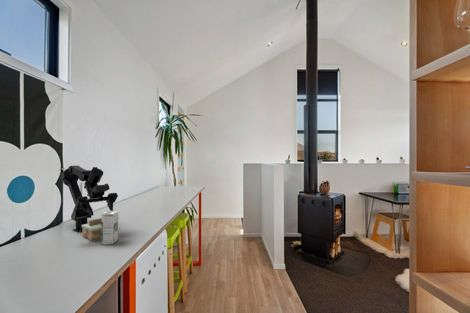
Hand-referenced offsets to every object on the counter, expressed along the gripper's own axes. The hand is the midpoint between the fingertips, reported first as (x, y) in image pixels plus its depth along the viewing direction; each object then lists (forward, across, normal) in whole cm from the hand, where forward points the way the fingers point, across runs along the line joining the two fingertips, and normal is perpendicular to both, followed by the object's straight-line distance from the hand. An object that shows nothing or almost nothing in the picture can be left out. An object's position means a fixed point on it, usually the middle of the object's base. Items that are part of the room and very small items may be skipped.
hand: (102, 213), depth 118 cm
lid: (+1, 0, +11) cm, 11 cm away
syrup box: (+14, 0, +4) cm, 15 cm away
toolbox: (+4, 0, +14) cm, 15 cm away
